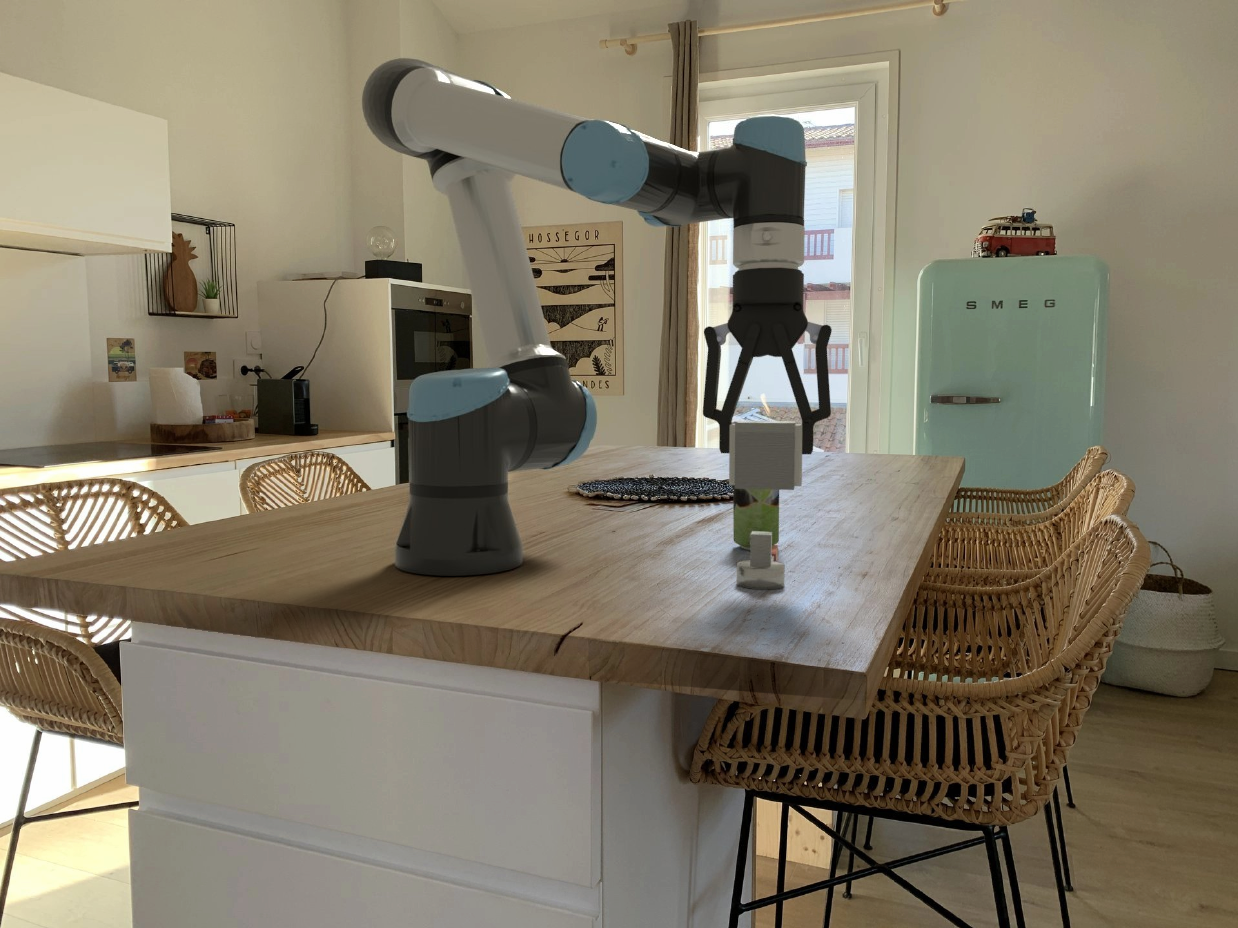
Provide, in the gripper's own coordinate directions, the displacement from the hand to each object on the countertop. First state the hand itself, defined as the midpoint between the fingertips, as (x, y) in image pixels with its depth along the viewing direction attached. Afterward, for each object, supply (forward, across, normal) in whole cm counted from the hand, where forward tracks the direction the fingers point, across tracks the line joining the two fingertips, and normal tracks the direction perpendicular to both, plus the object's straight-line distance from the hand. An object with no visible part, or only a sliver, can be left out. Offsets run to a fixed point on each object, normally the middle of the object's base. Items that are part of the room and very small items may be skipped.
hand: (765, 483), depth 101 cm
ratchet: (+11, -1, +6) cm, 13 cm away
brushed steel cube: (0, 0, 0) cm, 0 cm away
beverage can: (+11, -2, +22) cm, 25 cm away
